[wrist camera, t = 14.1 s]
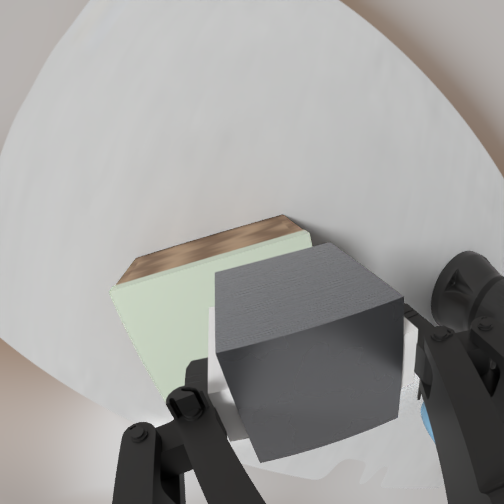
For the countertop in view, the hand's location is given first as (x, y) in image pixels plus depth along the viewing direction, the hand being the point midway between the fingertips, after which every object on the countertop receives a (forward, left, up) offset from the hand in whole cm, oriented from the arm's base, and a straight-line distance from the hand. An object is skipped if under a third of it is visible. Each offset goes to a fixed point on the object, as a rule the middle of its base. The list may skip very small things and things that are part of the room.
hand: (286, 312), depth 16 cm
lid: (+5, +10, -14) cm, 18 cm away
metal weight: (0, 0, 0) cm, 0 cm away
